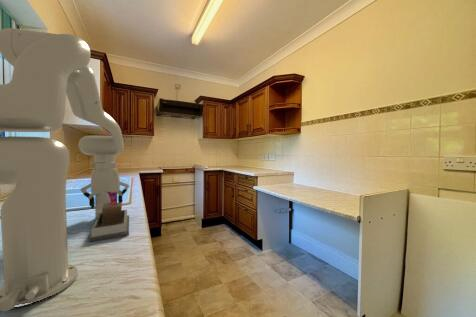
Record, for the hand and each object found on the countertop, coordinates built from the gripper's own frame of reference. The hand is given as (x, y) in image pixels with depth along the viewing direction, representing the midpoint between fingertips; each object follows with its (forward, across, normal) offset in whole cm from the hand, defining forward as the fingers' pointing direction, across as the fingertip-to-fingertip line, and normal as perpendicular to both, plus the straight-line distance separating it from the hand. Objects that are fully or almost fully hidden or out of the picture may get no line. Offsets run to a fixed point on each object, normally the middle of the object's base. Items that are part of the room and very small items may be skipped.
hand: (106, 205), depth 86 cm
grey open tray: (+4, +3, -16) cm, 17 cm away
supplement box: (+5, 0, 0) cm, 5 cm away
